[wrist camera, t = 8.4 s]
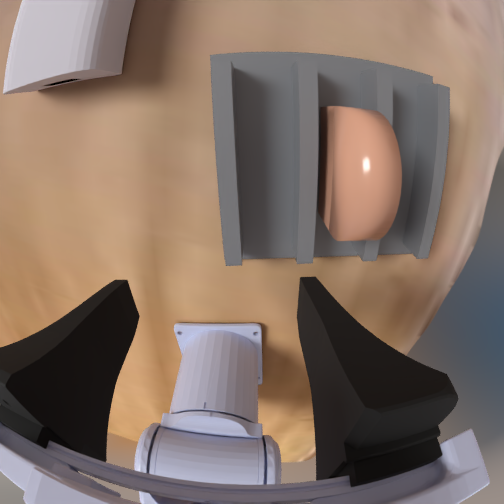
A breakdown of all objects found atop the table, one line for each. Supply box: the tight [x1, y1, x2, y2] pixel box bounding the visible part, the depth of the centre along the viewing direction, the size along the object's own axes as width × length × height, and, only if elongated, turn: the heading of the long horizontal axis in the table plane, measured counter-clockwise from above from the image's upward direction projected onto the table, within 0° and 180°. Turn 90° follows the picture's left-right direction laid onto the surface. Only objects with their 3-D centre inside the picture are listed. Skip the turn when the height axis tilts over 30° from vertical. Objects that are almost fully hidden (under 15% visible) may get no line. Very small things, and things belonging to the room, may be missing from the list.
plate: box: [318, 106, 402, 241], centre depth 13 cm, size 7×2×7 cm, turn 2°
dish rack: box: [210, 52, 450, 266], centre depth 16 cm, size 14×15×4 cm
